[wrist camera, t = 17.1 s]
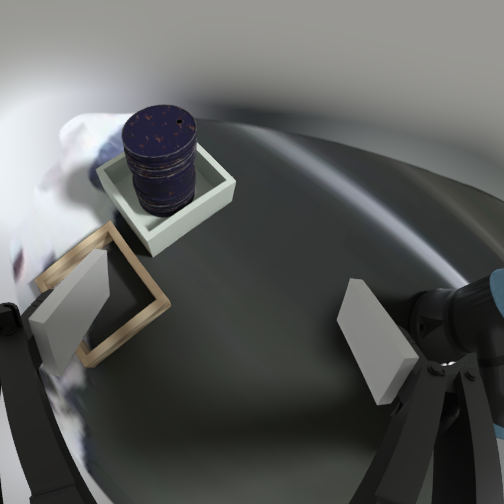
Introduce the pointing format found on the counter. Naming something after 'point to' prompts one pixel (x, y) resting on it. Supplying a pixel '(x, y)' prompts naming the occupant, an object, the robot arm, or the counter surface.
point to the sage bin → (172, 228)
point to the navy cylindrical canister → (162, 158)
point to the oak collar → (108, 235)
